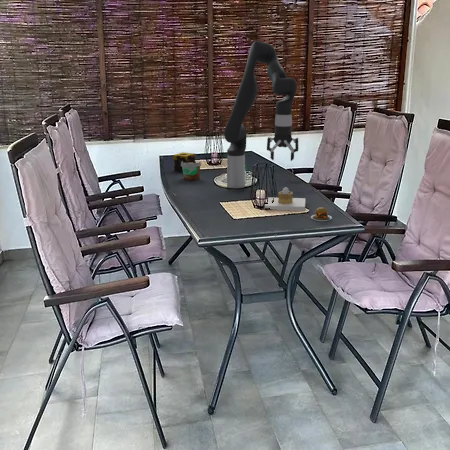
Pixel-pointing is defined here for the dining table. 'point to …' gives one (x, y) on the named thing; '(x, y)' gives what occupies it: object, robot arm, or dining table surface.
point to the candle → (185, 158)
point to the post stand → (296, 204)
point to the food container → (191, 171)
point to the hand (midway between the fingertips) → (282, 160)
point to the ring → (285, 197)
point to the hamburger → (321, 214)
